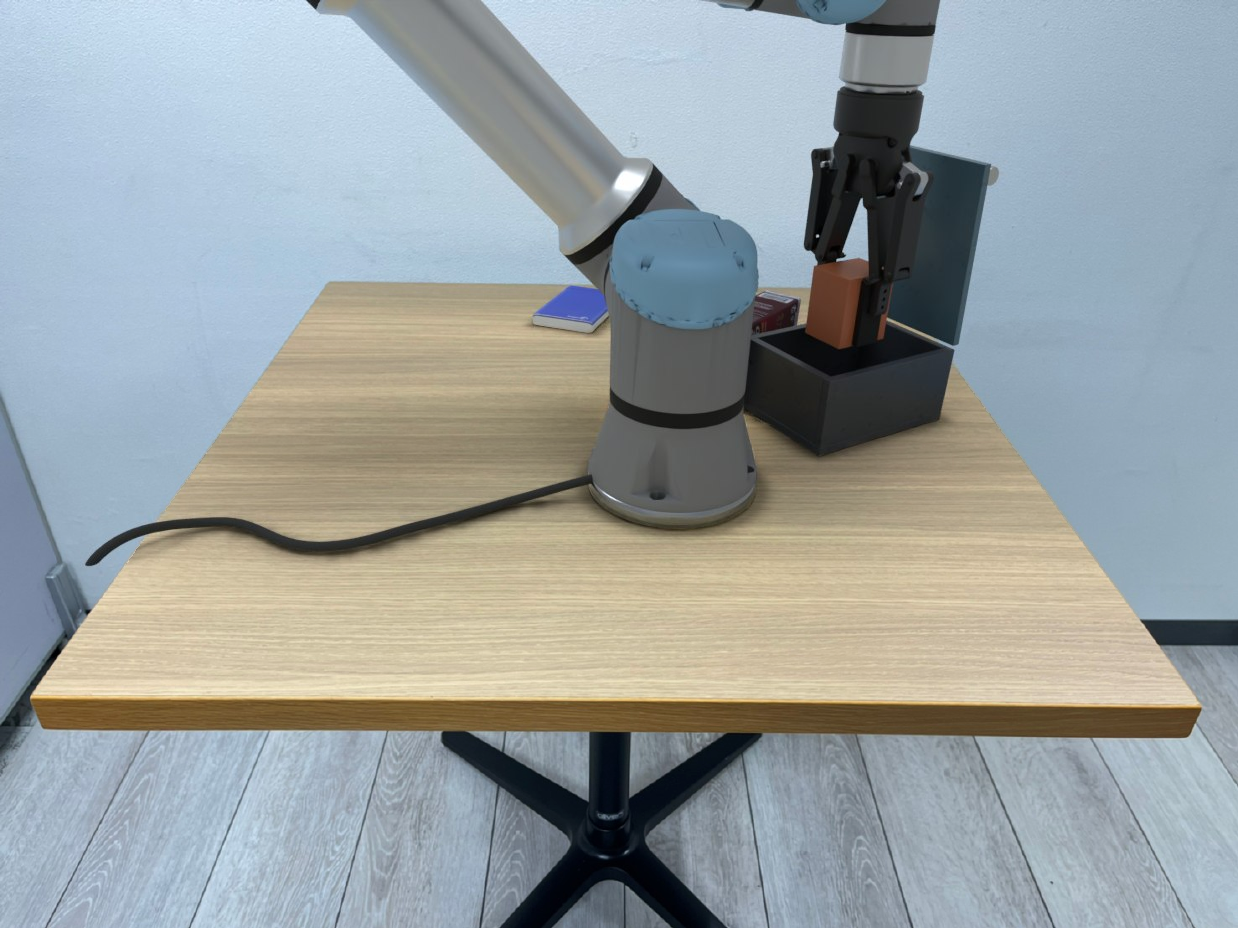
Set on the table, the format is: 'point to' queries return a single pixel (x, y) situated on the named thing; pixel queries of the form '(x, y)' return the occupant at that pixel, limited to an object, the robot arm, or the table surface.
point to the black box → (845, 385)
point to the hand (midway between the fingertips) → (844, 333)
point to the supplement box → (774, 312)
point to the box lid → (943, 246)
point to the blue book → (574, 310)
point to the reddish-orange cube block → (837, 302)
